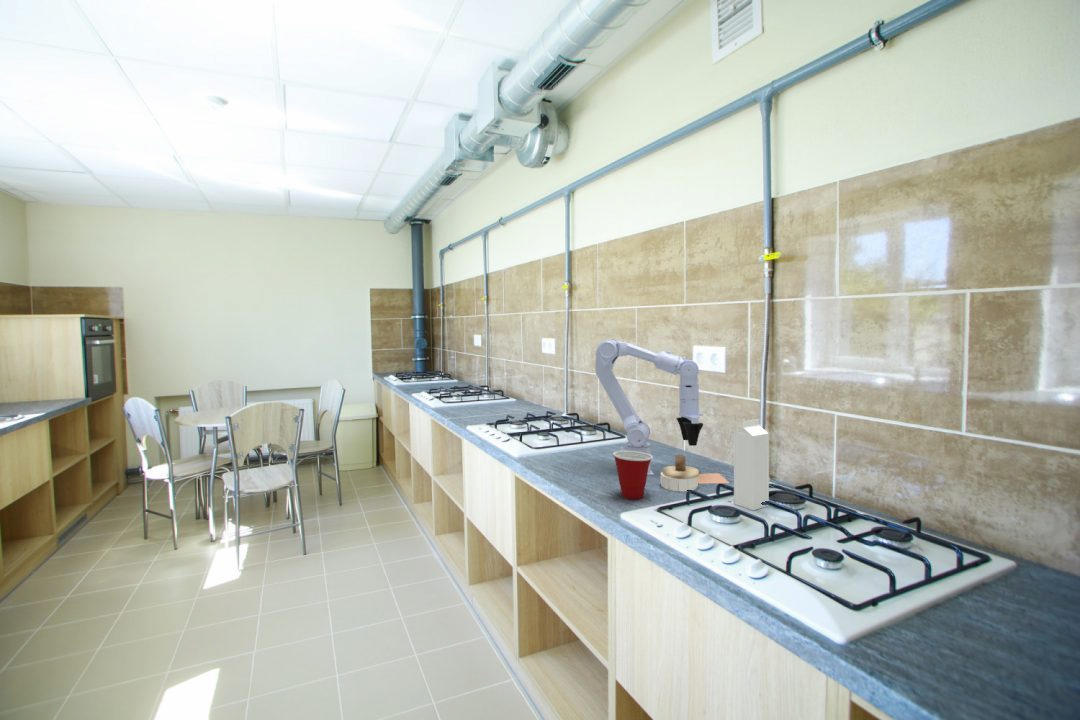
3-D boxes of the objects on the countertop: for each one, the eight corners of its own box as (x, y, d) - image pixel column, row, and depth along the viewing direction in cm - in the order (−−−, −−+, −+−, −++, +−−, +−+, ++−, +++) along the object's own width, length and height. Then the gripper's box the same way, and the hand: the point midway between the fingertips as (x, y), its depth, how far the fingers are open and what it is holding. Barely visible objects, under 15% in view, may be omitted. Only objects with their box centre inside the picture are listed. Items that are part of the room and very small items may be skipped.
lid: (667, 479, 141) (667, 461, 141) (658, 469, 151) (658, 452, 151) (703, 478, 142) (703, 460, 141) (692, 468, 152) (692, 451, 151)
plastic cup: (660, 500, 137) (660, 456, 136) (623, 504, 134) (623, 459, 133) (642, 488, 147) (641, 447, 146) (607, 492, 144) (606, 450, 144)
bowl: (665, 493, 142) (664, 479, 142) (658, 482, 152) (658, 469, 152) (701, 493, 142) (701, 478, 141) (692, 482, 152) (692, 469, 151)
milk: (733, 504, 132) (732, 420, 131) (749, 499, 135) (748, 417, 134) (753, 510, 127) (752, 423, 126) (769, 506, 130) (768, 420, 129)
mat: (694, 485, 149) (694, 483, 149) (686, 475, 159) (686, 473, 158) (729, 485, 148) (729, 483, 148) (719, 475, 158) (719, 473, 158)
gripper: (708, 402, 150) (709, 447, 150) (696, 395, 164) (696, 437, 165) (684, 402, 150) (685, 448, 151) (673, 396, 165) (674, 437, 165)
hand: (689, 442), depth 158 cm, fingers open, 7 cm apart
